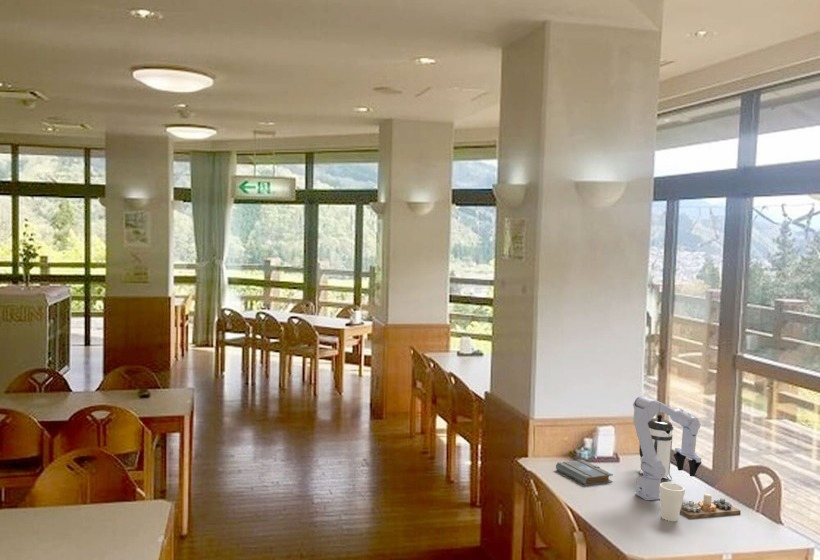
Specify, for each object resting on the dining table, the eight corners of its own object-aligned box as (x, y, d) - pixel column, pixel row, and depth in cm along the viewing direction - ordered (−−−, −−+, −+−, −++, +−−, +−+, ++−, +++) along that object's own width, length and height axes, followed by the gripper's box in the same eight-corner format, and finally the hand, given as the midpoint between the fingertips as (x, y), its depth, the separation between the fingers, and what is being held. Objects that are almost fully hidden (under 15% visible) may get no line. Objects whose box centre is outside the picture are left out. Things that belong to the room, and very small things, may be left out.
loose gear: (706, 511, 282) (707, 498, 282) (694, 505, 289) (695, 492, 288) (719, 510, 285) (720, 497, 284) (707, 504, 291) (708, 491, 291)
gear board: (689, 518, 278) (689, 512, 278) (672, 509, 287) (672, 502, 287) (740, 514, 286) (740, 507, 286) (722, 504, 296) (722, 498, 295)
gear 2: (721, 510, 285) (722, 503, 285) (709, 503, 291) (709, 497, 291) (734, 509, 287) (735, 502, 287) (722, 502, 294) (723, 495, 293)
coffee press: (675, 475, 330) (680, 414, 329) (667, 484, 317) (673, 420, 315) (638, 467, 340) (643, 407, 338) (629, 476, 326) (634, 413, 324)
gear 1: (689, 513, 280) (690, 505, 279) (678, 506, 286) (678, 499, 286) (703, 511, 282) (704, 504, 282) (691, 505, 288) (692, 498, 288)
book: (555, 471, 328) (556, 461, 328) (583, 468, 335) (583, 458, 335) (584, 486, 309) (585, 475, 309) (612, 483, 316) (613, 472, 316)
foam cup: (670, 524, 271) (673, 492, 270) (652, 515, 279) (654, 483, 278) (687, 521, 275) (689, 489, 274) (668, 512, 283) (671, 481, 283)
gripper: (707, 447, 299) (705, 478, 300) (684, 437, 313) (682, 467, 314) (694, 448, 297) (692, 479, 298) (671, 438, 311) (669, 468, 312)
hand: (686, 473), depth 306 cm, fingers open, 7 cm apart
